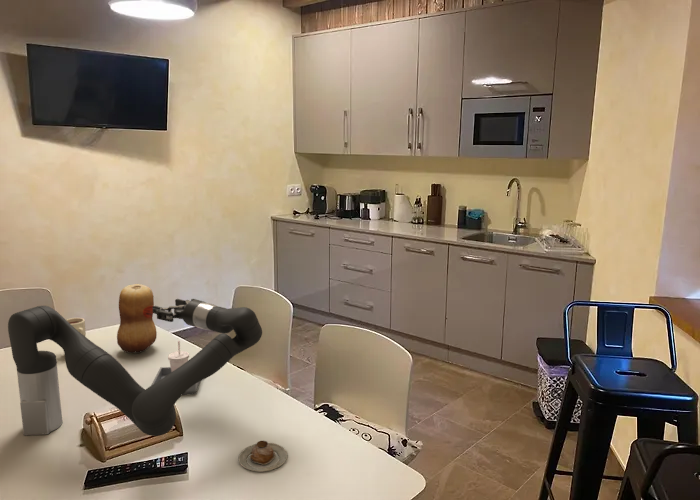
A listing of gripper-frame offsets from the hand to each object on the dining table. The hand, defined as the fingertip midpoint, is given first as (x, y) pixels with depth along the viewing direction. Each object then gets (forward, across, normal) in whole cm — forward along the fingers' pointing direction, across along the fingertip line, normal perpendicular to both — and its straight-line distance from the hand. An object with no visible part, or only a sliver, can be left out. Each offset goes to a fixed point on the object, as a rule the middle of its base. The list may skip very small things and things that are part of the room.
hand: (165, 305), depth 163 cm
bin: (0, +3, -27) cm, 28 cm away
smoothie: (-1, +3, -27) cm, 27 cm away
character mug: (+49, 0, -28) cm, 56 cm away
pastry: (-49, -13, -28) cm, 58 cm away
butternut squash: (+34, +15, -28) cm, 46 cm away
